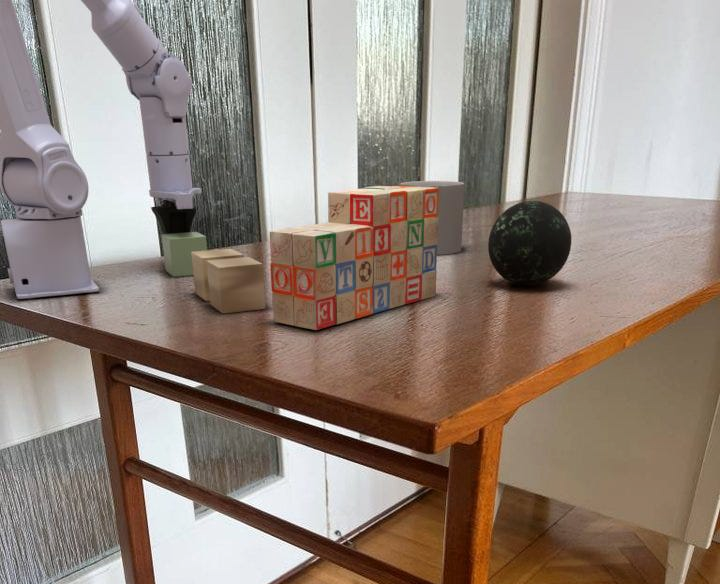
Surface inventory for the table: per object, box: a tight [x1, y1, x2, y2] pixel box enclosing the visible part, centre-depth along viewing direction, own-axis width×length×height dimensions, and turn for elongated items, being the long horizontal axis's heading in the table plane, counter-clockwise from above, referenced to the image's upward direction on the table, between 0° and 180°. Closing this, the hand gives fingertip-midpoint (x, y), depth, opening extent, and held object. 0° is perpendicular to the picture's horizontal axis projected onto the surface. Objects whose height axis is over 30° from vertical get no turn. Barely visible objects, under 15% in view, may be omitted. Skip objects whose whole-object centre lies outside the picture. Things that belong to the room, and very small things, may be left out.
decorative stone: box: [487, 200, 572, 287], centre depth 93 cm, size 10×10×10 cm
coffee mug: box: [399, 180, 465, 256], centre depth 120 cm, size 13×10×10 cm
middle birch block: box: [191, 248, 245, 302], centre depth 90 cm, size 5×5×5 cm
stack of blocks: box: [269, 185, 439, 331], centre depth 82 cm, size 21×6×12 cm, turn 141°
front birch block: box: [206, 256, 266, 315], centre depth 85 cm, size 5×5×5 cm
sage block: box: [161, 231, 208, 278], centre depth 104 cm, size 5×5×5 cm
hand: (179, 257), depth 108 cm, fingers closed
